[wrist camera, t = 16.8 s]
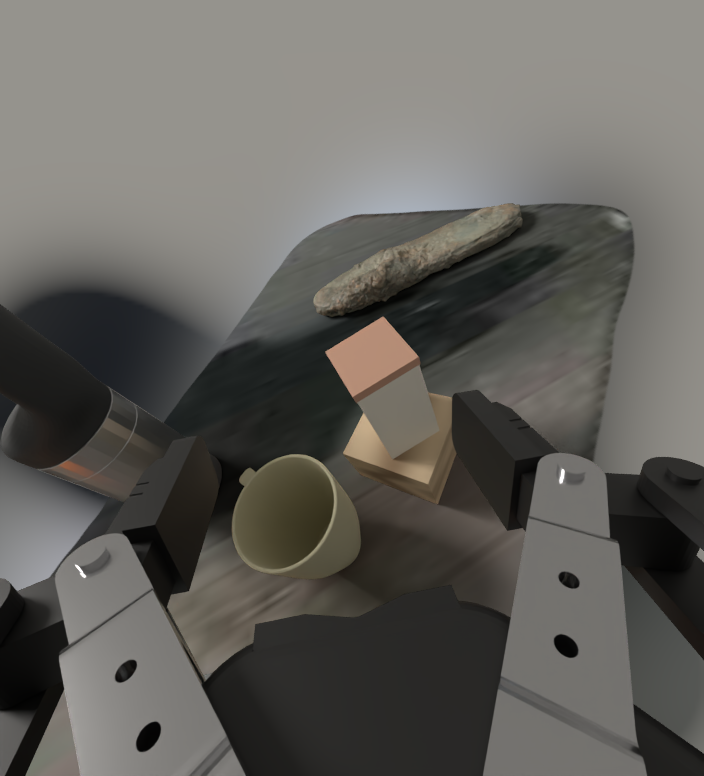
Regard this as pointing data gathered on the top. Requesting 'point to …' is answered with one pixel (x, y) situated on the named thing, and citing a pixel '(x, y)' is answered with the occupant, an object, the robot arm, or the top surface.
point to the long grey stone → (416, 260)
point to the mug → (295, 520)
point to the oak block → (407, 456)
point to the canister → (386, 385)
